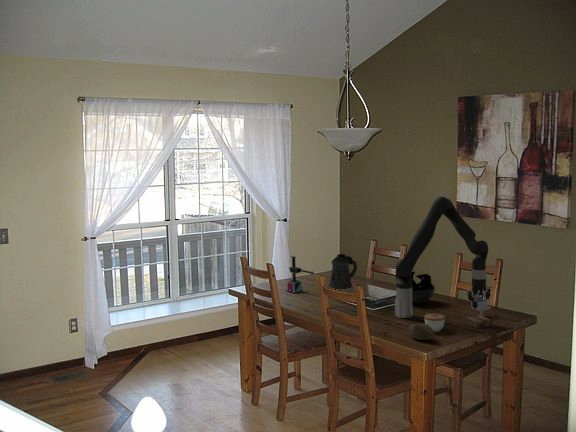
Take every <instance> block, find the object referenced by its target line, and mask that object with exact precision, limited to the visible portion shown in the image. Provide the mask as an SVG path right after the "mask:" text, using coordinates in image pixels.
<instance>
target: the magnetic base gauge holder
mask: <svg viewBox="0 0 576 432" xmlns="http://www.w3.org/2000/svg"><path fill="white" fill-rule="evenodd" d="M290 258H291V265H292V266H288V269H289V272H290V273H292V280H289V281H287V285H286V286H287V290H285V292H287V293H290V294H298V293H303V292H304V290H303V289H302V288H303V287H302V284H303V283H302V281H300V280H298V279H297V275H296V274H299V273H305V274H306V273H307V274H310V275H314V274H315V271H309V270H305V269H302V268H301V267H298V266H296V258H297V257H296V256H293V255H292V256H290ZM289 290H291V291H289ZM298 290H299V291H298ZM293 291H295V292H293Z"/></svg>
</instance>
